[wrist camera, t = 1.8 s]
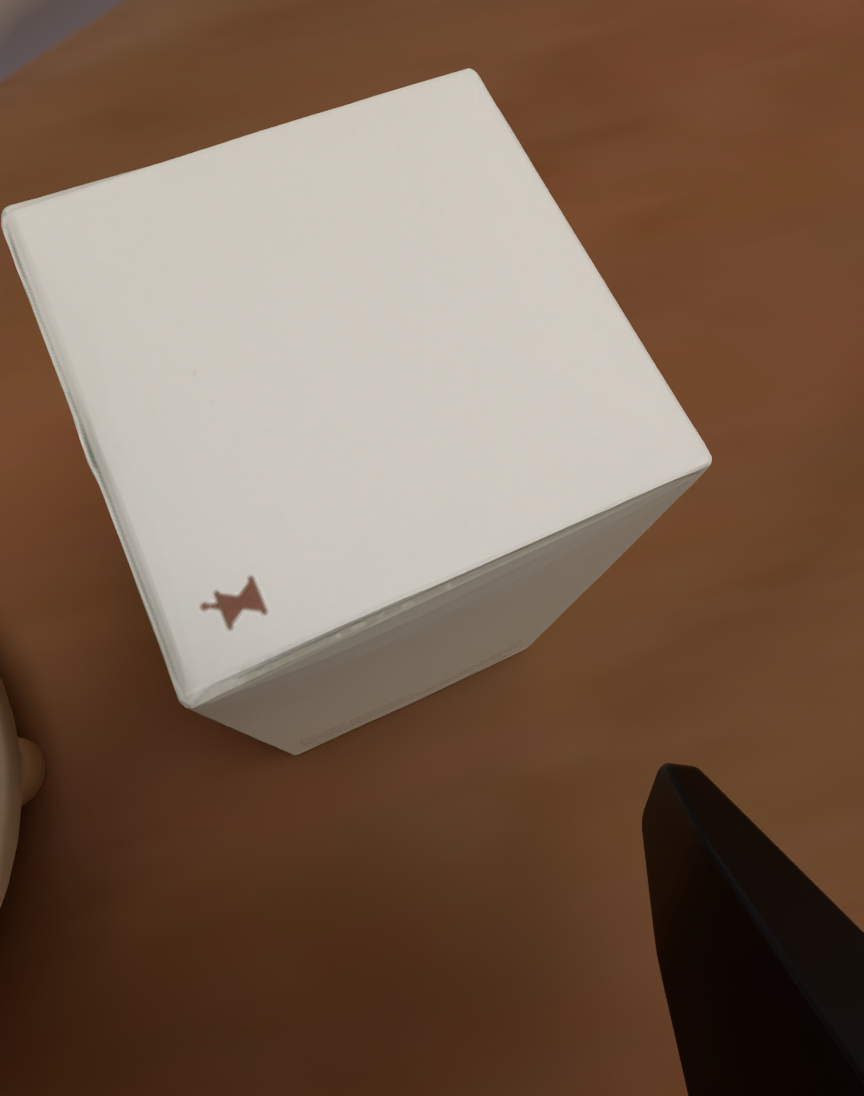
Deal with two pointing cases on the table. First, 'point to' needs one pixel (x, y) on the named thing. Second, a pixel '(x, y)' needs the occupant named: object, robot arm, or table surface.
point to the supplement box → (350, 404)
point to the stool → (14, 784)
